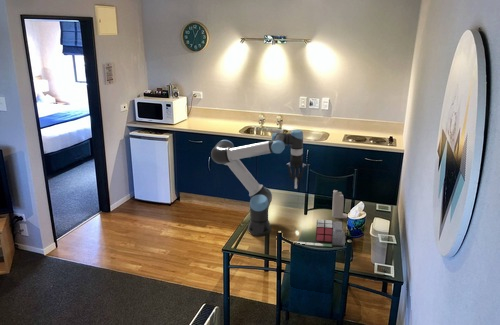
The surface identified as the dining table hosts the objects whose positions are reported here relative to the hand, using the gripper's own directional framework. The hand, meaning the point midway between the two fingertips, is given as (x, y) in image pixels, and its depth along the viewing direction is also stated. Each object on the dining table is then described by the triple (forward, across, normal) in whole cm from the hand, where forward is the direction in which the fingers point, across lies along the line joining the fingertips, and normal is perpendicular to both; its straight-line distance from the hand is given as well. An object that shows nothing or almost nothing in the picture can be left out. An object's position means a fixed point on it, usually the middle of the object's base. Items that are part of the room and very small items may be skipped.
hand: (295, 187), depth 261 cm
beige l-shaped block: (+27, +31, +16) cm, 44 cm away
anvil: (+26, +29, -15) cm, 42 cm away
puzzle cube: (+27, +20, -14) cm, 36 cm away
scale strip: (+26, +13, -24) cm, 38 cm away
